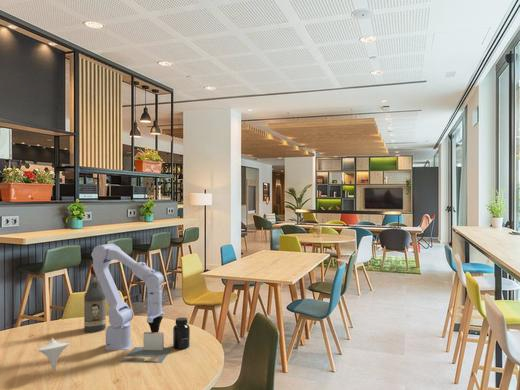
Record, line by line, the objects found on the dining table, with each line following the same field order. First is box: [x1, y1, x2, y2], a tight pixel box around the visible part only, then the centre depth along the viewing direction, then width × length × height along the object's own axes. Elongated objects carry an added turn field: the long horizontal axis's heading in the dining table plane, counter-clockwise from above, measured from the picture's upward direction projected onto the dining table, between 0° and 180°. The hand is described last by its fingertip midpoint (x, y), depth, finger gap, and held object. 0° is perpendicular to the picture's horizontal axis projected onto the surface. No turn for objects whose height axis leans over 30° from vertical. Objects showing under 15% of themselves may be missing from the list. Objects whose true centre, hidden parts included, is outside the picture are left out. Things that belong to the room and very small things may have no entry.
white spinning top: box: [36, 337, 71, 373], centre depth 147 cm, size 10×11×12 cm
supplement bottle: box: [172, 317, 191, 351], centre depth 170 cm, size 7×7×12 cm
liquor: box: [83, 265, 107, 333], centre depth 196 cm, size 9×9×30 cm
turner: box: [120, 355, 160, 362], centre depth 156 cm, size 14×4×1 cm, turn 87°
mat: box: [119, 346, 174, 364], centre depth 162 cm, size 16×16×1 cm
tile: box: [143, 331, 165, 350], centre depth 167 cm, size 8×2×7 cm, turn 87°
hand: (154, 335), depth 169 cm, fingers closed
